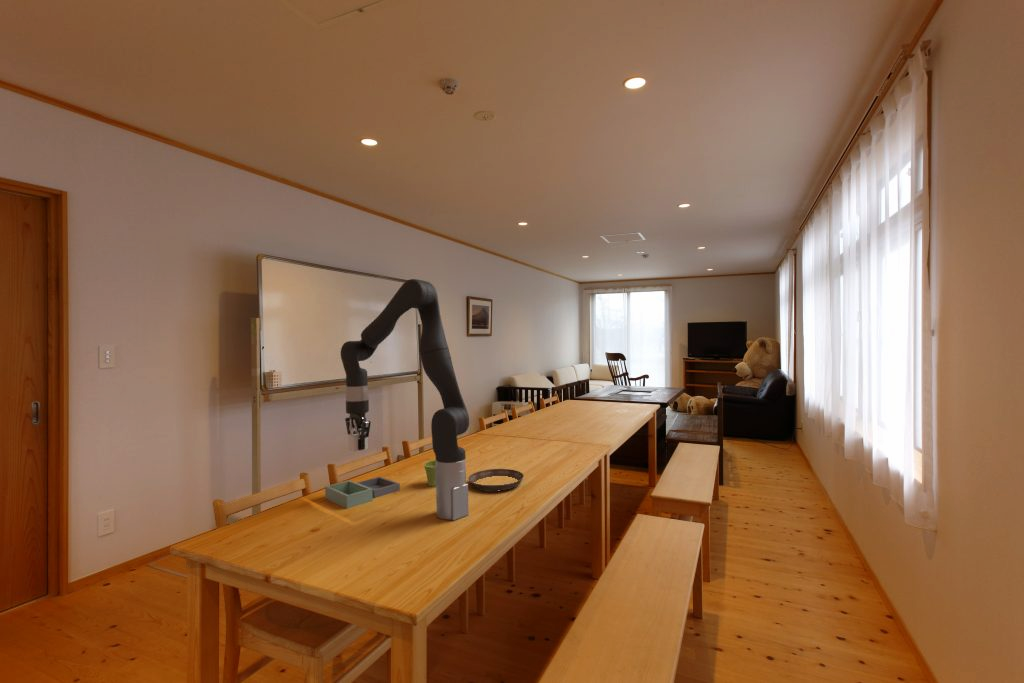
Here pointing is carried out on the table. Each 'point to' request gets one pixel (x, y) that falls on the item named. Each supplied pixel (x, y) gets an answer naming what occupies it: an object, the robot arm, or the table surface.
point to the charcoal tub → (381, 486)
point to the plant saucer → (495, 472)
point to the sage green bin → (348, 494)
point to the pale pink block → (356, 442)
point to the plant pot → (431, 472)
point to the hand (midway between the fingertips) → (358, 448)
